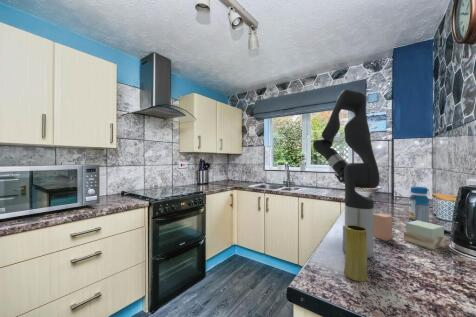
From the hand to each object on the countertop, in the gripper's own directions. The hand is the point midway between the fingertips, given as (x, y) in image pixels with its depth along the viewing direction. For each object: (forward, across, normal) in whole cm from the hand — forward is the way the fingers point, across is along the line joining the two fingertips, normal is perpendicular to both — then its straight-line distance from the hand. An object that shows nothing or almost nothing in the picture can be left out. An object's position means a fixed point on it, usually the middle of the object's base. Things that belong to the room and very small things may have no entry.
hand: (357, 187), depth 102 cm
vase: (+34, -39, -6) cm, 52 cm away
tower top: (+28, +11, -4) cm, 30 cm away
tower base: (+30, +11, -1) cm, 32 cm away
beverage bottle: (+20, +39, +10) cm, 45 cm away
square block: (+23, 0, +6) cm, 24 cm away
